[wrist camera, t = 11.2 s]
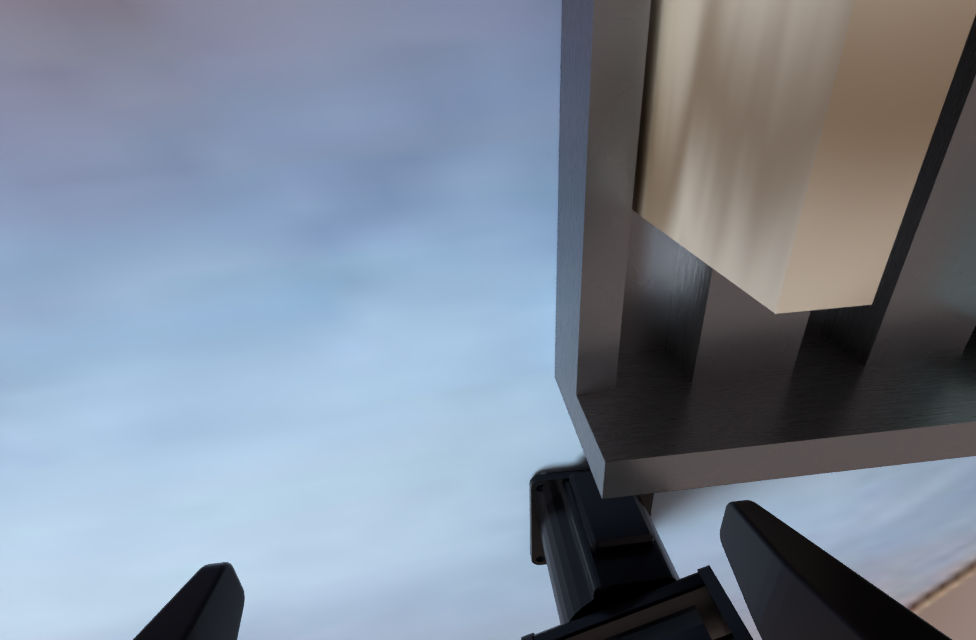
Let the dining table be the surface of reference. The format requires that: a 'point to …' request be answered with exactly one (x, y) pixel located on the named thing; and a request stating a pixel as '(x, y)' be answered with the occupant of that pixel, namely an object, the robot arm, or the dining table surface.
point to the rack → (747, 309)
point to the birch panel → (792, 135)
